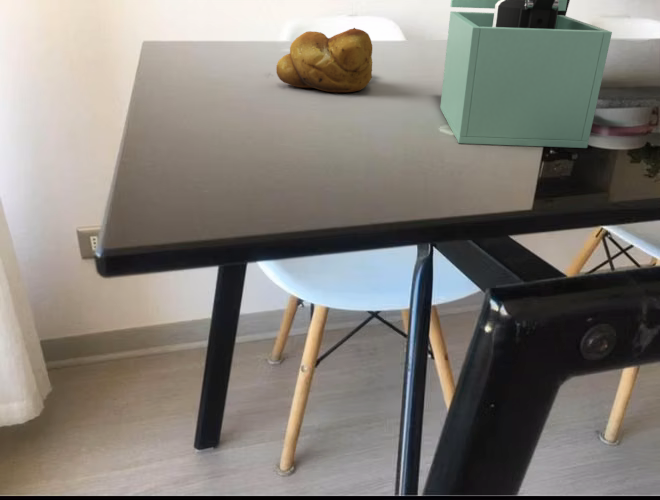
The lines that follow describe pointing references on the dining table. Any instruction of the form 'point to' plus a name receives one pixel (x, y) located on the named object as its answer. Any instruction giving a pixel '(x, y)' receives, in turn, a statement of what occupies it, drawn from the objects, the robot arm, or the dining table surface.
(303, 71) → the bread roll
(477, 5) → the lid
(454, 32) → the cool box
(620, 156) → the dining table surface
